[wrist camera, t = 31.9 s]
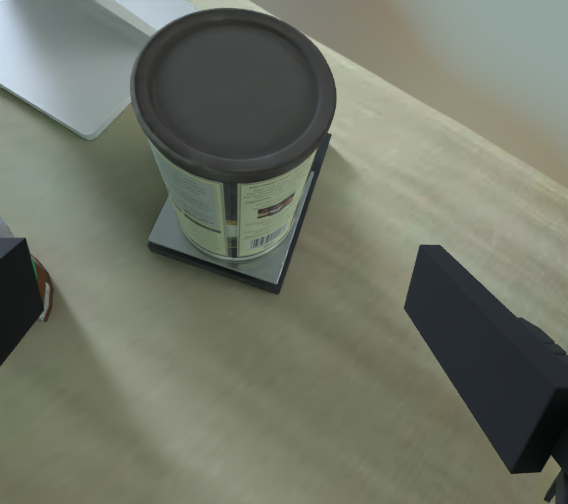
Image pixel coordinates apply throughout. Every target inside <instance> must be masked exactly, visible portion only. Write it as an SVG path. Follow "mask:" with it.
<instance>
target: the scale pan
mask: <svg viewBox="0 0 568 504" xmlns="http://www.w3.org/2000/svg"><path fill="white" fill-rule="evenodd" d="M313 175H314V172H313V171H311V173H310V176H309V178H308V180H307V183H306V186H305V189H304V192H303V194H302V197H301V200H300V203H299V205H298V209H297V211H296V214H295V218H294V222H293V225H292V227H291V229H290V231H289V233H288V235H287V236H286V237H285V238H284V240H283V241H282V242H281V243H280V244H279V245H278V246H277V247H275V248H274V249H272V250H271V251H269V252H268V253H266V254H264V255H262V256H259V257H256V258H253V259H250V260H241V261H231V260H224V259H220V258H216V257H213V256H211V255H209V254H207V253H204V252H202V251H201V250H200V249H199V248H197V247H196V246H195V245H193V244H192V243H191V242H190V241H189V240H188V238H187V237H186V236H185V235H184V233H183V231H182V230H181V228H180V226H179V223H178V221H177V218H176V214H175V210H174V207H173V204H172V202H171V199H170V196H168V198H167V200H166V202H165V204H164V206H163V208H162V211H161V213H160V215H159V217H158V219H157V221H156V223H155V225H154V227H153V229H152V232H151V234H150V236H149V238H148V241H149V242H152V243H155V244H158V245H161V246H164V247H167V248H170V249H173V250H175V251H178V252H181V253H184V254H187V255H190V256H193V257H196V258H199V259H202V260H205V261H208V262H211V263H213V264H216V265H219V266H222V267H225V268H228V269H231V270H234V271H237V272H240V273H243V274H246V275H249V276H252V277H254V278H257V279H260V280H263V281H266V282H269V283H272V284H275V285H277V283H278V280H279V277H280V274H281V271H282V268H283V265H284V262H285V259H286V256H287V253H288V250H289V247H290V244H291V241H292V238H293V235H294V232H295V229H296V226H297V223H298V220H299V217H300V214H301V211H302V208H303V205H304V202H305V199H306V196H307V193H308V190H309V187H310V184H311V181H312V178H313Z"/></svg>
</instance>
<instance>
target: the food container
mask: <svg viewBox="0 0 568 504" xmlns="http://www.w3.org/2000/svg"><path fill="white" fill-rule="evenodd" d="M0 238H14V236H13V235H12V233H11V231H10V229H9V227H8V226H7V225H6V224H5V222H4V221H3V220H2V219H1V217H0ZM30 256H31V260H32V264H33V268H34V271H35V275H36V279H37V283H38V286H39V290H40V294H41V298H42V301H43V305H44V309H45V310H44V311H43V312H42V314H41V315H40V316H39V318H38V320H41V321H45V322H47V319H48V317H49V314H50V311H51V309H52V298H53V287H52V284H51V280H50V277H49V273H48V272H47V271H46V269H45V268H44V267H43V266H42V264H41V263H40V262H39V260H37V259H36V258H35V257H34V256H32V255H31V254H30Z"/></svg>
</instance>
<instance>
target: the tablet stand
mask: <svg viewBox="0 0 568 504" xmlns="http://www.w3.org/2000/svg"><path fill="white" fill-rule="evenodd" d="M193 12H197V10H196V8H195V7H194V6H193V5H192V4H191V3H189V2H188V1H186V0H0V87H2V88H3V89H5V90H6V91H8V92H10V93H11V94H13V95H15V96H16V97H18V98H19V99H21V100H23V101H24V102H26V103H27V104H29V105H31V106H32V107H34V108H36V109H37V110H39V111H40V112H42V113H44V114H45V115H47V116H49V117H50V118H52V119H53V120H55V121H57V122H58V123H60V124H62V125H63V126H65V127H66V128H68V129H70V130H71V131H73V132H75V133H76V134H78V135H79V136H81V137H83V138H84V139H86V140H93V139H96V138H97V137H98V136H99V135H100V134H101V133H102V132H103V131H104V130H105V129H106V128H107V127H108V126H109V125H110V124H111V123H112V122H113V121H114V120H115V119H116V117H117V116H118V115H119V114H120V113H121V112H122V111H123V110H124V109H125V108H126V107H127V106H128V105H129V104H130V103H131V102H132V101H131V96H130V78H131V72H132V68H133V65H134V62H135V59H136V57H137V56H138V54H139V52H140V50H141V48H142V47H143V46H144V44H145V43H146V42H147V41H148V40H149V38H150V37H151V36H152V35H153V34H154V33H156V32H157V31H158V30H159V29H161V28H162V27H164V26H165V25H166V24H168V23H169V22H171V21H173V20H175V19H177V18H179V17H182V16H184V15H186V14H190V13H193Z"/></svg>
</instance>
